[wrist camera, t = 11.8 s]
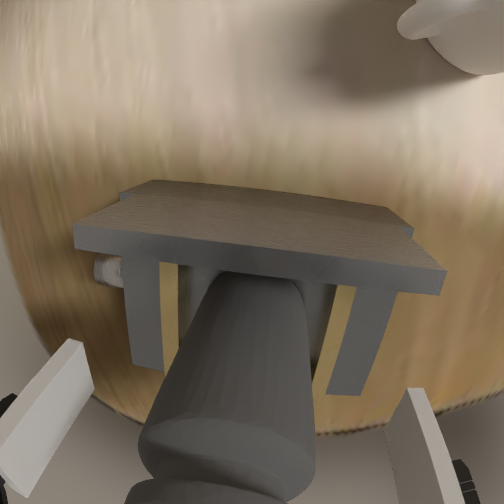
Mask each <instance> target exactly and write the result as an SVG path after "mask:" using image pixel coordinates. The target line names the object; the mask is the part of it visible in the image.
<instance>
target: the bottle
mask: <svg viewBox="0 0 504 504" xmlns="http://www.w3.org/2000/svg"><path fill="white" fill-rule="evenodd" d="M138 451H139V455H140V458H141V460H142V463H143V464H144V466H145V468H146V469H147V470H148V472H149V473H150V474H151V475H152V476H153V478H154V479H150V480H145V481H142V482H139V483H137V484H136V485H134V486H133V487H132V488H131V490H130V492H129V493H128V495H127V498H126V501H125V503H124V504H287V503H286V502H288V501H290V500H291V499H293V498H295V497H296V496H298V495H299V494H300V493H302V492H303V491H304V490H305V489H306V488H307V487H308V486H309V485H310V483H311V482H312V480H313V478H314V474H315V424H314V408H313V394H312V380H311V367H310V355H309V343H308V332H307V322H306V313H305V307H304V302H303V299H302V296H301V294H300V293H299V291H298V289H297V288H296V286H295V285H294V284H293V283H292V282H291V281H290V280H289V279H286V278H278V277H270V276H262V275H254V274H247V273H239V272H231V271H227V272H225V273H224V274H222V275H220V276H219V277H218V278H217V279H216V280H215V281H214V282H213V283H212V284H211V286H210V287H209V288H208V290H207V292H206V294H205V295H204V297H203V299H202V301H201V303H200V305H199V307H198V309H197V311H196V314H195V316H194V318H193V320H192V322H191V324H190V326H189V328H188V330H187V332H186V334H185V337H184V339H183V341H182V343H181V345H180V347H179V349H178V351H177V353H176V356H175V358H174V360H173V362H172V364H171V366H170V368H169V370H168V373H167V375H166V377H165V379H164V381H163V383H162V385H161V388H160V390H159V392H158V394H157V396H156V399H155V401H154V403H153V406H152V408H151V410H150V413H149V415H148V417H147V420H146V422H145V425H144V427H143V429H142V432H141V434H140V437H139V441H138Z"/></svg>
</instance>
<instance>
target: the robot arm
mask: <svg viewBox="0 0 504 504" xmlns="http://www.w3.org/2000/svg"><path fill="white" fill-rule="evenodd" d="M94 389H95V388H94V385H93V381H92V377H91V374H90V370H89V366H88V362H87V358H86V354H85V350H84V346H83V342H79V341H76V340H73V339H69V338H68V339H67V340H66V341H65V343H64V344H63V345H62V346H61V347H60V348H59V349H58V350H57V351H56V353H55V354H54V355H53V356H52V357H51V358H50V359H49V361H48V362H47V363H46V364H45V365H44V366H43V367H42V368H41V370H40V371H39V372H38V373H37V374H36V375H35V377H34V378H33V379H32V380H31V381H30V383H29V384H28V385H27V386H26V387H25V388H24V390H23V391H22V392H21V393H20V394H19V396H17V395H15V394H13V393H12V394H10V395H9V396H7V397H5V398H3V399H2V400H1V401H0V504H8V501H7V496H6V491H5V488H4V486H3V485H4V483H5V482H6V483H7V484H8V485H9V486H10V487H11V488H12V489H13V490H15V491H17V492H18V493H20V494H21V495H23V496H25V497H26V498H28V497H29V495H30V493H31V491H32V489H33V488H34V486H35V484H36V482H37V481H38V479H39V478H40V475H41V474H42V472H43V471H44V469H45V467H46V466H47V464H48V462H49V461H50V459H51V457H52V456H53V454H54V452H55V451H56V449H57V448H58V446H59V444H60V443H61V441H62V439H63V438H64V436H65V435H66V433H67V431H68V430H69V428H70V427H71V425H72V423H73V422H74V420H75V419H76V417H77V416H78V414H79V412H80V411H81V409H82V408H83V406H84V405H85V403H86V402H87V400H88V399H89V397H90V396H91V394H92V392H93V391H94ZM384 434H385V438H386V443H387V447H388V451H389V455H390V460H391V465H392V470H393V474H394V479H395V484H396V489H397V495H398V500H399V504H480V501H479V498H478V494H477V491H475V485H474V483H473V482H472V477H471V475H470V471H469V469H468V467H467V466H466V465H465V464H464V463H463V461H462V460H461V459H459V460H454V461H451V458H450V456H449V453H448V450H447V447H446V445H445V442H444V439H443V437H442V434H441V432H440V429H439V426H438V423H437V421H436V418H435V416H434V413H433V411H432V408H431V406H430V403H429V401H428V399H427V396H426V394H425V391H424V389H423V388H407V389H406V391H405V393H404V395H403V397H402V399H401V401H400V403H399V405H398V406H397V408H396V410H395V412H394V414H393V416H392V417H391V419H390V421H389V423H388V424H387V426H386V428H385V429H384Z"/></svg>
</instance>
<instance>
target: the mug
mask: <svg viewBox="0 0 504 504" xmlns="http://www.w3.org/2000/svg"><path fill="white" fill-rule="evenodd" d="M397 30H398V32H399V33H400V34H401V36H403V37H405V38H406V39H411V40H414V39H421V38H427V39H428V40H429V42H430V43H431V45H432V46H433V47H434V48H435V49H436V51H437V52H438V53H439V54H440V55H441V56H442V57H443V58H445V59H446V60H447V61H448V62H450V63H451V64H452V65H454V66H456V67H457V68H459V69H461V70H463V71H465V72H468V73H471V74H476V75H491V74H497V73H502V72H504V0H416V4H414V5H413V6H411V7H410V8H409V9H407V10H406V11H405V12H404V13H403V14H402V15H401V16H400V18H399V19H398V21H397Z"/></svg>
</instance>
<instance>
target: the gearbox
mask: <svg viewBox="0 0 504 504" xmlns="http://www.w3.org/2000/svg"><path fill="white" fill-rule="evenodd" d="M413 231H414V228H413V227H412V226H410V225H409V224H408V223H407V222H405V221H404V220H403V219H401V218H400V217H399V216H398V215H396V214H395V213H394V212H392V211H391V210H390V209H388V208H386V207H380V206H375V205H369V204H362V203H356V202H350V201H343V200H337V199H330V198H323V197H316V196H309V195H302V194H294V193H287V192H279V191H270V190H262V189H253V188H244V187H235V186H225V185H215V184H204V183H193V182H180V181H167V180H151V181H148V182H146V183H143V184H140V185H138V186H135V187H133V188H130V189H128V190H125V191H123V192H120V201H119V202H117V203H115V204H113V205H111V206H108V207H106V208H104V209H102V210H100V211H98V212H96V213H94V214H92V215H90V216H88V217H86V218H84V219H82V220H80V221H78V222H76V223H74V224H73V236H74V248H75V249H80V250H86V251H92V252H99V254H98V256H97V258H96V260H95V264H94V278H95V280H96V282H97V283H98V284H100V285H105V286H111V287H116V288H121V289H124V298H125V308H126V318H127V327H128V335H129V343H130V350H131V357H132V364H133V365H137V366H141V367H145V368H149V369H154V370H158V371H163V372H165V377H166V375H167V373H168V370H169V368H170V366H171V364H172V362H173V360H174V358H175V356H176V353H177V351H178V349H179V347H180V345H181V343H182V341H183V339H184V337H185V334H186V332H187V330H188V328H189V326H190V324H191V322H192V320H193V318H194V316H195V314H196V311H197V309H198V307H199V305H200V303H201V301H202V299H203V297H204V295H205V294H206V292H207V290H208V288H209V287H210V286H211V284H212V283H213V282H214V281H215V280H216V279H217V278H218V277H219V276H220V275H222V274H224V273H225V272H227V271H231V272H239V273H247V274H254V275H262V276H270V277H278V278H286V279H289V280H290V281H291V282H292V283H293V284H294V285H295V286H296V288H297V289H298V291H299V293H300V294H301V296H302V299H303V302H304V307H305V313H306V322H307V332H308V343H309V355H310V367H311V380H312V394H313V398H314V399H324V396H325V394H331V395H352V396H360V394H361V392H362V390H363V387H364V385H365V382H366V380H367V377H368V375H369V372H370V370H371V367H372V365H373V362H374V360H375V357H376V354H377V352H378V349H379V346H380V343H381V341H382V338H383V335H384V332H385V329H386V326H387V323H388V320H389V317H390V314H391V311H392V308H393V305H394V302H395V298H396V295H397V292H398V291H399V292H409V293H418V294H428V295H440V292H441V289H442V286H443V283H444V279H445V276H446V273H447V270H446V269H444V268H443V267H442V266H441V265H440V264H439V263H438V262H437V261H436V260H435V259H434V258H433V257H432V256H431V255H430V254H429V253H428V252H427V251H425V250H424V249H423V248H422V247H421V246H420V245H419V244H418V243H417V242H416V241H415V240H413V239H412V235H413Z"/></svg>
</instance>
